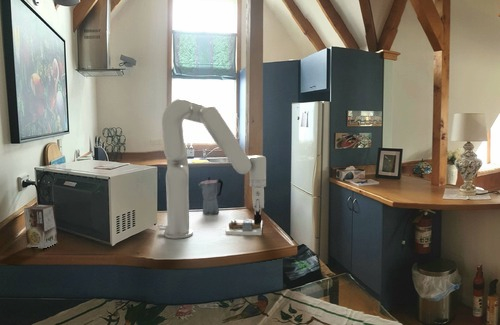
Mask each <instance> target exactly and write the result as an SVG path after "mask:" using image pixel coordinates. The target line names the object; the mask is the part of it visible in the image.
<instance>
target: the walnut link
mask: <svg viewBox="0 0 500 325" xmlns="http://www.w3.org/2000/svg"><path fill="white" fill-rule="evenodd" d="M254 214H255V210H254V212H253V215H254ZM228 224H229V228H242V223H237V222H236V224H231V223H229V222H228ZM252 228H261V223H252Z"/></svg>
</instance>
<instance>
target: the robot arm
mask: <svg viewBox="0 0 500 325" xmlns="http://www.w3.org/2000/svg"><path fill="white" fill-rule="evenodd" d="M166 106H167V107H166V108H165V109H164V111H163V113H162V116H161V117H162V119H161V127H162V139H163V153H164V156H165V158H166V166H167V168H166V172H165V187H166V190H165V191H166V215H167V216H166V217H167V218H166V219H167V221H166V222H167V223H166V224H158V230H159V231H164V232H163V236H164V237H165V238H167V239H173V240H174V239H176V240H177V239H186V238H189V237H191V236H193V234H194V231H193V229H191V228H190V202H189V201H190V198H189V196H190V194H189V193H190V192H189V190H190V189H189V185H190V184H189V180H190V178H189V173H190V171H189V170H190V169H189V161H188V153H187V146H186V143H185V142H184V141H185V140H184V129H183V121H184V120H186V121H187V120H188V121H192V122H195V123H199V124H203V126H204V127H205V129H206V130H207V132H208V133H209V135H210V136H211V138H212V140H213V141H214V143H215V144H216V145H217V146H218V148H219V149H220V150H221V151H222V152H223V153H224V155H225V156H226V157H227V159H228V160H229V162H230V163H231V165H232V167H233V169H234V170H235V171H236V172H237V173H238V174H240V175H246V174H248V173H249V187H251V194H252V195H251V197H252V198H251V199H252V208H253V209H254V211H255V214H254V213H253V215H254V216H253V220H254V223H261V220H262V211H261V209H264V208H265V189H264V188H265V187H267V158H266V156H264V155H247V153H246V152H245V150H244V149H243V147H242V145H240V143H239V142H238V139H237V138H236V137H235V135H234V132H232V130H231V129H230V127H229V126H228V124H227V122H226V121H225V119H224V118H223V116H222V115H221V113H220V112H219V111H218V109H217V108H216V107H215V106H214V105H205V104H201V103H197V102H193V101H190V100H189V99H187V98H183V97H182V98H181V97H180V98H177V99H175V100H173V101H172V102H170V103H169V104H168V105H166Z"/></svg>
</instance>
